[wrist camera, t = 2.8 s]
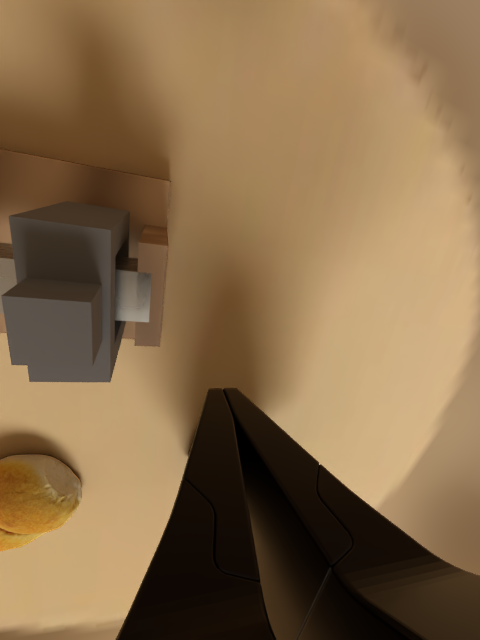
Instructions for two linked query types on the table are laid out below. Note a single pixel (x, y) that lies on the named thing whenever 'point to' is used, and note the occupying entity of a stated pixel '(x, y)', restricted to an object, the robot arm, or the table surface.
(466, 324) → the table surface
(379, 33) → the table surface
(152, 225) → the stand
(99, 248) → the grey stepped block
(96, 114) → the table surface
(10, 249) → the brushed metal beam
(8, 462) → the bread roll
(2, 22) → the table surface
